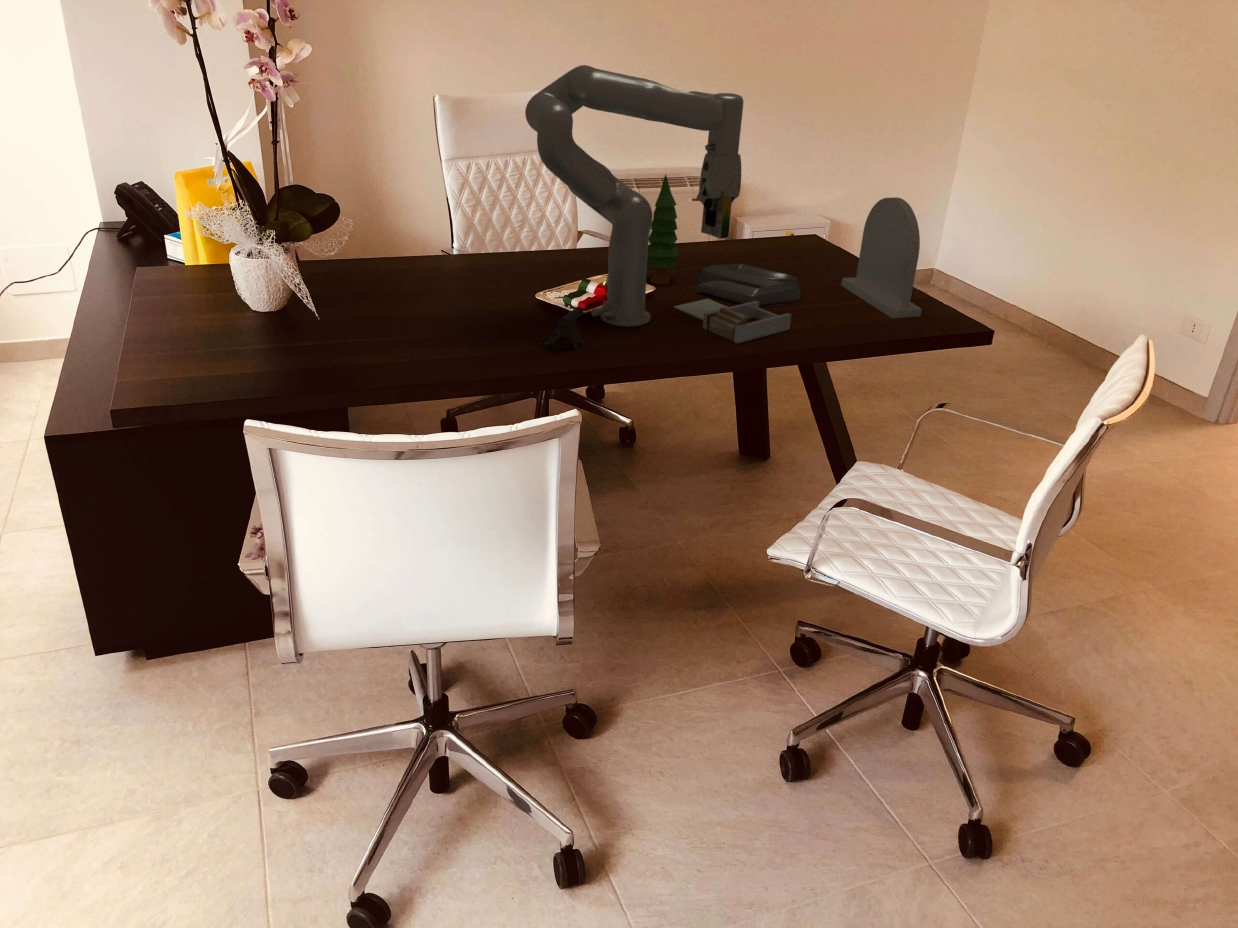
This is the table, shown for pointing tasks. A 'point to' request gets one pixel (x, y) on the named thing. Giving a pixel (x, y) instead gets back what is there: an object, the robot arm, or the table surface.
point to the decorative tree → (663, 236)
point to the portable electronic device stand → (568, 325)
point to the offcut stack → (726, 322)
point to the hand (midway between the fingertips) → (715, 224)
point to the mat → (699, 307)
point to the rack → (757, 329)
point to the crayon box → (719, 218)
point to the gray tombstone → (888, 259)
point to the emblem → (748, 284)
